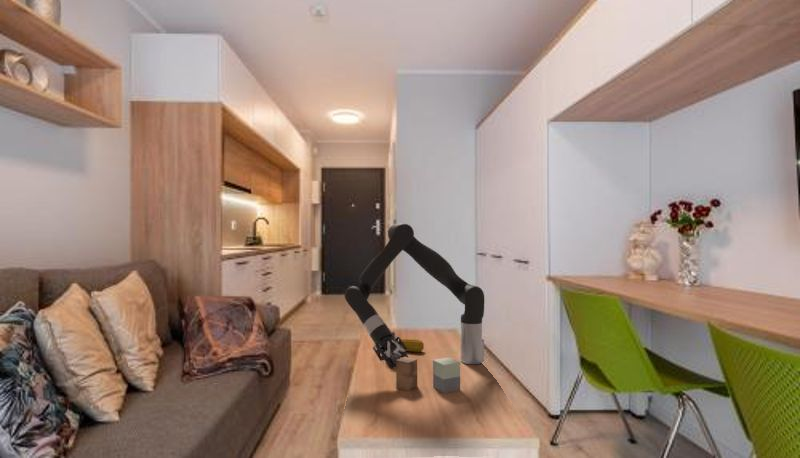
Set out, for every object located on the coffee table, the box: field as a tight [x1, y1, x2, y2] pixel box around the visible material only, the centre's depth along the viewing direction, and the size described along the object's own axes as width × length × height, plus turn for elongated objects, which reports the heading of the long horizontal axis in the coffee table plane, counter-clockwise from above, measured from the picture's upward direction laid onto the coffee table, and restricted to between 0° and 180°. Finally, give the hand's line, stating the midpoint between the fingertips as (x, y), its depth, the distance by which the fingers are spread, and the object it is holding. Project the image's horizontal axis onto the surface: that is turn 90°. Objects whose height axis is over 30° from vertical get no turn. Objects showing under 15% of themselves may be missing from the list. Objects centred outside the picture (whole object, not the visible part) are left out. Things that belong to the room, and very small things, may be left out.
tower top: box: [432, 357, 461, 379], centre depth 155 cm, size 7×7×5 cm
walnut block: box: [395, 356, 418, 392], centre depth 156 cm, size 6×6×10 cm
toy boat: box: [390, 330, 401, 364], centre depth 187 cm, size 15×8×13 cm, turn 12°
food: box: [400, 338, 425, 353], centre depth 206 cm, size 21×6×6 cm, turn 67°
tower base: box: [432, 373, 461, 394], centre depth 155 cm, size 7×7×5 cm
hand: (401, 364), depth 158 cm, fingers open, 8 cm apart
